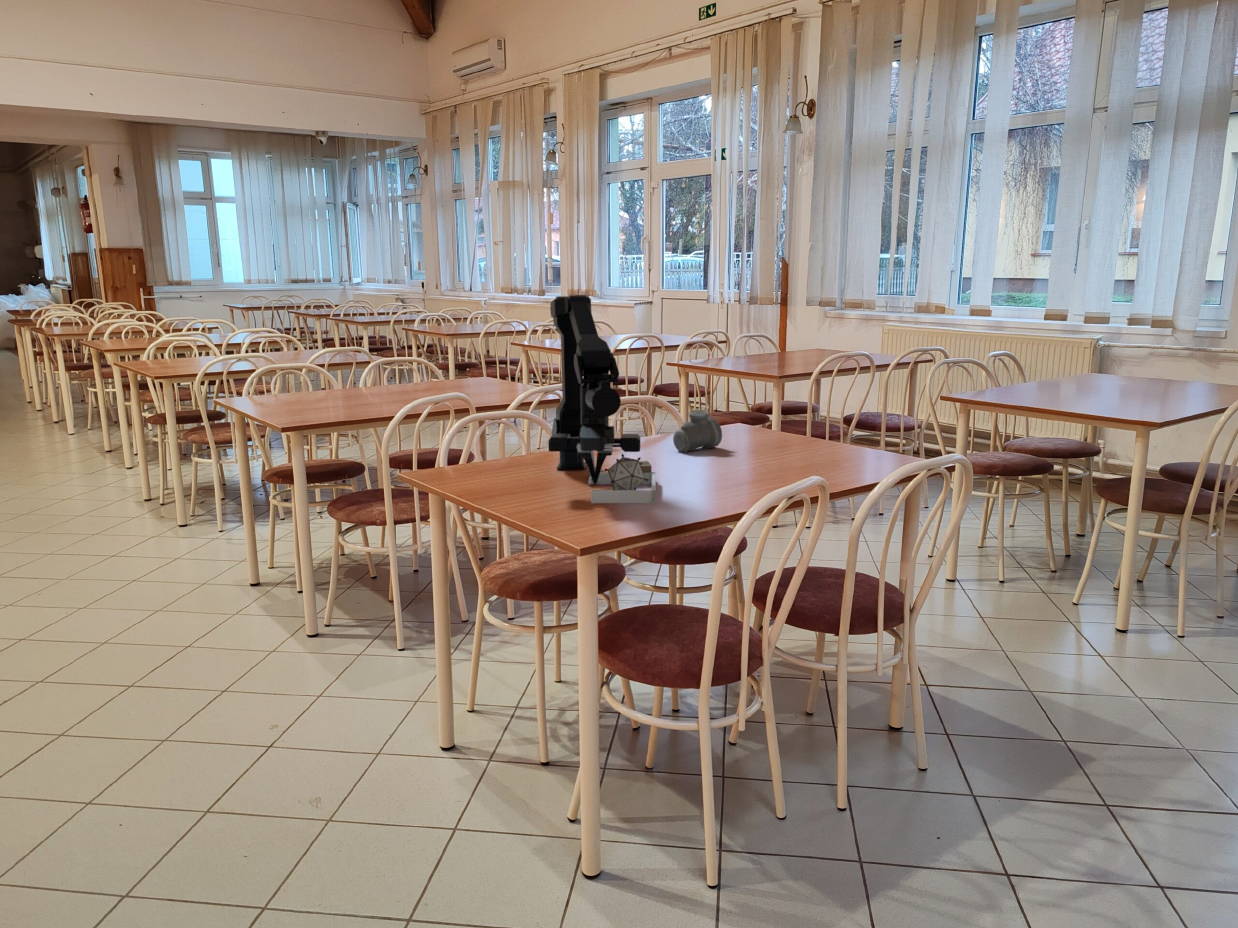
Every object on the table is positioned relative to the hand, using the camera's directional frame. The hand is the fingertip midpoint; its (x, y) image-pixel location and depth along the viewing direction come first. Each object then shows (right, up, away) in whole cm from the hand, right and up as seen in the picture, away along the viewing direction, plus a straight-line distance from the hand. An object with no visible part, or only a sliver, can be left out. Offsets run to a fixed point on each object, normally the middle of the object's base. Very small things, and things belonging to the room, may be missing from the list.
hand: (595, 483), depth 181 cm
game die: (+6, -2, 0) cm, 7 cm away
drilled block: (+9, 0, +10) cm, 13 cm away
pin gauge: (-1, 0, +10) cm, 10 cm away
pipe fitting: (+25, +7, +43) cm, 51 cm away
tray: (+6, -2, 0) cm, 6 cm away
